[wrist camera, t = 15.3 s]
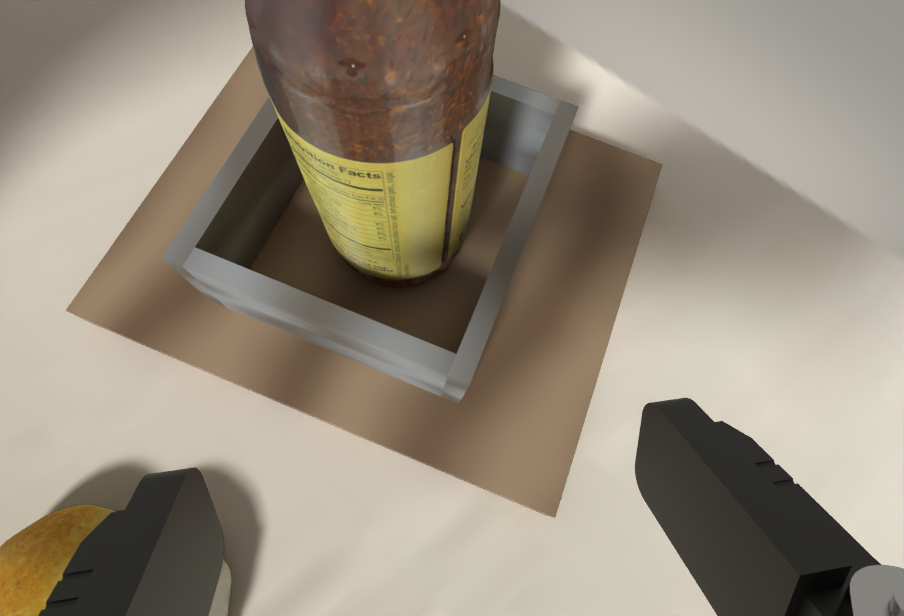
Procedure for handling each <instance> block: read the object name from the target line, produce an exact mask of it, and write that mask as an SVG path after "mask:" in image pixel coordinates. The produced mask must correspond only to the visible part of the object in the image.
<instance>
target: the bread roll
mask: <svg viewBox="0 0 904 616" xmlns="http://www.w3.org/2000/svg"><path fill="white" fill-rule="evenodd" d="M111 512H116V511H113V510H111V509H108V508H103V507H99V506H94V505H75V506H71V507H68V508H64V509H60V510H58V511H56V512H53V513H51V514H49V515H47V516H44V517H43V518H41V519H39V520H38V521H36V522H34V523H33V524H31V525H30V526H28V527H26V528H25V529H23V530H22V531H20V532H19V533H17V534H16V535H14V536H13V537H12V538H10V539H9V540H7V541H6V542H5V543H4V544H3V545H2V546H1V547H0V616H38V615H39V613H40V611H41V610H44V609H45V608H46V601H47V599H48V598H49V596H50V594H51V593H52V591H53V589H54V588H55V586H56V584H57V582H58V581H61V580H62V578H63V575H62V574H63V572H64V570H65V569H66V567H67V565H68V564H69V562H70V560H71V559H72V557H73V555H74V553H75V552H76V550H77V548H78V547H79V545H80V543H81V542H82V541H83V540H84V539H85V538H86V537H87V536H88V535H89V534H90V533H91V532H92V531H93V530H94V529H95V528H96V527H97V526H98V525H99V524H100V523H101V522H102V521H103V520H104V519H105V518H106V517H107V516H108V515H109V514H110V513H111ZM230 593H231V573H230V569H229V566H228V565H227V563H226V562H225V561H224V560H223V565H222V569H221V573H220V577H219V580H218V584H217V587H216V591H215V594H214V598H213V602H212V605H211V609H210V612H209V616H227V615H228V611H229V610H228V606H229V597H230Z"/></svg>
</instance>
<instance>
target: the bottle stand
mask: <svg viewBox="0 0 904 616" xmlns="http://www.w3.org/2000/svg"><path fill="white" fill-rule="evenodd" d="M577 109H578V107H577V106H574V105H572V104H569V103H566V102H564V101H561V100H558V99H556V98H553V97H550V96H548V95H545V94H542V93H540V92H537V91H534V90H532V89H529V88H526V87H523V86H521V85H518V84H515V83H513V82H510V81H507V80H505V79H502V78H499V77H497V76H494V75H493V80H492V87H491V93H490V99H489V105H488V110H487V116H486V122H485V128H484V134H483V140H482V146H481V152H480V158H479V164H478V170H477V176H476V182H475V189H474V195H473V201H472V207H471V214H470V222H469V226H468V229H467V232H466V235H465V237H464V239H463V241H462V243H461V245H460V247H459V251H458V252H457V254H456V256H455V258H454V260H453V261H452V262H451V263H450V265H449V266H448V267H447V268H446V270H444V271H442V272H440V273H439V274H437V275H434V276H433V277H431V278H430V279H427V280H425V281H421V282H419V283H417V284H415V285H407V286H402V287H391V286H387V285H385V284H383V283H379V282H376V281H373V280H371V279H368V278H367V277H365V276H364V275H360V274H359V272H357V271H355V270H354V269H353V268H351V267H350V266H349V265H348V264H347V263H346V262H345V261H344V259H343V257H342V256H341V255H340V254H339V253H338V251H337V250H336V248H335V247H334V245H333V243H332V242H331V240H330V237H329V235H328V233H327V231H326V228H325V226H324V223H323V221H322V218H321V216H320V214H319V212H318V209H317V207H316V205H315V203H314V200H313V198H312V196H311V194H310V192H309V189H308V187H307V185H306V183H305V180H304V178H303V175H302V173H301V170H300V168H299V165H298V163H297V161H296V158H295V156H294V153H293V151H292V148H291V146H290V143H289V141H288V139H287V137H286V134H285V132H284V130H283V127H282V125H281V123H280V120H279V118H278V115H277V113H276V111H275V108H274V106H273V103H272V101H271V99H270V97H269V94H268V92H267V90H266V88H265V85H264V82H263V80H262V77H261V74H260V71H259V68H258V65H257V61H256V57H255V52H254V48H253V47H252V48H251V50H250V51H249V53H248V54H247V56H246V57H245V58H244V60H243V61H242V63H241V64H240V65H239V67H238V68H237V70H236V71H235V72H234V74H233V75H232V77H231V78H230V80H229V81H228V82H227V84H226V85H225V87H224V88H223V89H222V91H221V92H220V94H219V95H218V96H217V98H216V99H215V101H214V102H213V104H212V105H211V106H210V108H209V109H208V111H207V112H206V113H205V115H204V116H203V118H202V119H201V120H200V122H199V123H198V125H197V126H196V127H195V129H194V130H193V132H192V133H191V135H190V136H189V137H188V139H187V140H186V142H185V143H184V144H183V146H182V147H181V149H180V150H179V151H178V153H177V154H176V156H175V157H174V159H173V160H172V161H171V163H170V164H169V166H168V167H167V168H166V170H165V171H164V173H163V174H162V175H161V177H160V178H159V180H158V181H157V183H156V184H155V185H154V187H153V188H152V190H151V191H150V192H149V194H148V195H147V197H146V198H145V199H144V201H143V202H142V204H141V205H140V207H139V208H138V209H137V211H136V212H135V214H134V215H133V216H132V218H131V219H130V221H129V222H128V223H127V225H126V226H125V228H124V229H123V231H122V232H121V233H120V235H119V236H118V238H117V239H116V240H115V242H114V243H113V245H112V246H111V247H110V249H109V250H108V252H107V253H106V255H105V256H104V257H103V259H102V260H101V262H100V263H99V264H98V266H97V267H96V269H95V270H94V271H93V273H92V274H91V276H90V277H89V279H88V280H87V281H86V283H85V284H84V286H83V287H82V288H81V290H80V291H79V293H78V294H77V295H76V297H75V298H74V300H73V301H72V302H71V304H70V305H69V307H68V308H67V310H66V311H68V312H70V313H72V314H74V315H76V316H78V317H80V318H82V319H84V320H86V321H88V322H90V323H93V324H95V325H98V326H100V327H102V328H105V329H107V330H109V331H112V332H114V333H116V334H119V335H121V336H124V337H126V338H128V339H131V340H133V341H135V342H138V343H140V344H142V345H145V346H147V347H150V348H152V349H154V350H157V351H159V352H161V353H164V354H166V355H168V356H171V357H173V358H176V359H178V360H180V361H183V362H185V363H187V364H190V365H192V366H194V367H197V368H199V369H202V370H204V371H206V372H209V373H211V374H213V375H216V376H218V377H220V378H223V379H225V380H228V381H230V382H232V383H235V384H237V385H239V386H242V387H244V388H246V389H249V390H251V391H254V392H256V393H258V394H261V395H263V396H265V397H268V398H270V399H272V400H275V401H277V402H280V403H282V404H284V405H287V406H289V407H291V408H294V409H296V410H298V411H301V412H303V413H306V414H308V415H310V416H313V417H315V418H317V419H320V420H322V421H324V422H327V423H329V424H331V425H334V426H336V427H339V428H341V429H343V430H346V431H348V432H350V433H353V434H355V435H357V436H360V437H362V438H365V439H367V440H369V441H372V442H374V443H376V444H379V445H381V446H383V447H386V448H388V449H391V450H393V451H395V452H398V453H400V454H402V455H405V456H407V457H409V458H412V459H414V460H417V461H419V462H421V463H424V464H426V465H428V466H431V467H433V468H435V469H438V470H440V471H443V472H445V473H447V474H450V475H452V476H454V477H457V478H459V479H461V480H464V481H466V482H469V483H471V484H473V485H476V486H478V487H480V488H483V489H485V490H487V491H490V492H492V493H495V494H497V495H499V496H502V497H504V498H506V499H509V500H511V501H513V502H516V503H518V504H521V505H523V506H525V507H528V508H530V509H532V510H535V511H537V512H539V513H542V514H544V515H547V516H551V517H555V516H556V513H557V510H558V506H559V503H560V500H561V497H562V493H563V490H564V487H565V483H566V480H567V477H568V474H569V470H570V467H571V464H572V460H573V457H574V454H575V450H576V447H577V444H578V441H579V437H580V434H581V431H582V427H583V424H584V421H585V418H586V414H587V411H588V408H589V404H590V401H591V398H592V394H593V391H594V388H595V385H596V381H597V378H598V375H599V371H600V368H601V365H602V361H603V358H604V355H605V352H606V348H607V345H608V342H609V338H610V335H611V332H612V329H613V325H614V322H615V319H616V315H617V312H618V309H619V305H620V302H621V299H622V296H623V292H624V289H625V286H626V282H627V279H628V276H629V273H630V269H631V266H632V263H633V259H634V256H635V253H636V249H637V246H638V243H639V240H640V236H641V233H642V230H643V226H644V223H645V220H646V216H647V213H648V210H649V207H650V203H651V200H652V197H653V193H654V190H655V187H656V184H657V180H658V177H659V174H660V170H661V167H662V164H659V163H657V162H654V161H651V160H649V159H646V158H643V157H641V156H638V155H635V154H633V153H630V152H627V151H625V150H622V149H619V148H617V147H614V146H611V145H609V144H606V143H603V142H601V141H598V140H596V139H593V138H590V137H588V136H585V135H582V134H580V133H577V132H574V131H572V130H570V127H571V125H572V122H573V119H574V117H575V114H576V112H577Z"/></svg>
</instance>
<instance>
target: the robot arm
mask: <svg viewBox="0 0 904 616" xmlns="http://www.w3.org/2000/svg"><path fill="white" fill-rule="evenodd" d="M635 474H636V480H637V484H638V487H639V490H640V492H641V495H642V497H643V499H644V500H645V502H646V503H647V505H648V507H649V508H650V510H651V511H652V513H653V515H654V516H655V518H656V519H657V521H658V522H659V524H660V526H661V527H662V529H663V530H664V532H665V533H666V535H667V537H668V538H669V540H670V541H671V543H672V545H673V546H674V548H675V549H676V551H677V552H678V554H679V556H680V557H681V559H682V560H683V562H684V563H685V565H686V567H687V568H688V570H689V571H690V573H691V574H692V576H693V578H694V579H695V581H696V582H697V584H698V586H699V587H700V589H701V590H702V592H703V593H704V595H705V597H706V598H707V600H708V601H709V603H710V604H711V606H712V608H713V609H714V611H715V612H716V614H717V616H904V569H903V568H899V567H894V566H888V565H881V564H880V563H879V562H878V561H877V560H876V559H874V558H873V557H872V556H871V555H870V554H869V553H868V552H867V551H866V550H865V549H864V548H863V547H862V546H861V545H860V544H859V543H858V542H857V541H856V540H855V539H854V538H853V537H852V536H851V535H850V534H849V533H848V532H847V531H846V530H845V529H844V528H843V527H842V526H841V525H840V524H839V523H838V522H837V521H836V520H835V519H834V518H833V517H832V516H830V515H829V514H828V513H827V512H826V511H825V510H824V509H823V508H822V507H821V506H820V505H819V504H818V503H817V502H816V501H815V500H814V499H813V498H812V497H811V496H810V495H809V494H808V493H807V492H806V491H805V490H804V489H803V488H802V487H801V486H800V485H799V484H795V483H794V482H793V478H792V477H791V476H790V475H789V474H788V473H787V472H786V471H785V470H784V469H783V468H782V467H781V466H780V465H775V463H774V460H773V459H772V458H771V457H770V456H769V455H768V454H767V453H766V452H765V451H764V450H763V449H762V448H761V447H760V446H759V445H758V444H757V443H756V442H755V441H754V440H753V439H752V438H751V437H749V436H747V435H745V434H744V433H742V432H740V431H738V430H737V429H735V428H733V427H732V426H730V425H728V424H726V423H725V422H723V421H719V422H714V421H713V420H712V419H711V418H710V417H709V416H708V415H707V414H706V413H705V412H704V411H703V410H702V409H701V408H700V407H699V406H698V405H697V404H696V403H695V402H694V401H693V400H691V399H689V398H680V399H673V400H666V401H660V402H653V403H648V404H646V405H645V407H644V409H643V412H642V419H641V426H640V433H639V440H638V447H637V454H636V461H635ZM223 558H224V538H223V532H222V528H221V525H220V523H219V520H218V517H217V514H216V512H215V509H214V506H213V504H212V501H211V498H210V495H209V493H208V490H207V487H206V484H205V482H204V479H203V476H202V474H201V472H200V471H199V470H198V469H197V468H188V469H181V470H174V471H168V472H161V473H154V474H148V475H146V476H145V477H144V478H143V479H142V480H141V481H140V483H139V485H138V487H137V489H136V490H135V492H134V494H133V496H132V498H131V500H130V502H129V504H128V505H127V507H126V509H125V510H123V511H117V512H111V513H110V514H109V515H108V516H107V517H106V518H105V519H104V520H103V521H102V522H101V523H100V524H99V525H98V526H97V527H96V528H95V529H94V530H93V531H92V532H91V533H90V534H89V535H88V536H87V537H86V538H85V539H84V540H83V541H82V542H81V543H80V545H79V547H78V548H77V550H76V552H75V553H74V555H73V557H72V559H71V560H70V562H69V564H68V565H67V567H66V569H65V570H64V572H63V574H62V575H63V578H62V580H61V581H58V582H57V584H56V586H55V588H54V589H53V591H52V593H51V594H50V596H49V598H48V599H47V601H46V608H45V609H44V610H41V611H40V613H39V615H38V616H209V612H210V609H211V605H212V602H213V598H214V594H215V591H216V587H217V584H218V580H219V577H220V573H221V569H222V565H223Z"/></svg>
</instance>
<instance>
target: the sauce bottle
mask: <svg viewBox="0 0 904 616" xmlns="http://www.w3.org/2000/svg"><path fill="white" fill-rule="evenodd" d="M245 8H246V16H247V21H248V25H249V30H250V34H251V39H252V43H253V48H254V52H255V57H256V61H257V65H258V68H259V71H260V74H261V77H262V80H263V82H264V85H265V88H266V90H267V92H268V94H269V97H270V99H271V101H272V103H273V106H274V108H275V111H276V113H277V115H278V118H279V120H280V123H281V125H282V127H283V130H284V132H285V134H286V137H287V139H288V141H289V143H290V146H291V148H292V151H293V153H294V156H295V158H296V161H297V163H298V165H299V168H300V170H301V173H302V175H303V178H304V180H305V183H306V185H307V187H308V189H309V192H310V194H311V196H312V198H313V200H314V203H315V205H316V207H317V209H318V212H319V214H320V216H321V218H322V221H323V223H324V226H325V228H326V231H327V233H328V235H329V237H330V240H331V242H332V243H333V245H334V247H335V248H336V250H337V251H338V253H339V254H340V255H341V256H342V257H343V259H344V261H345V262H346V263H347V264H348V265H349V266H350V267H351V268H353V269H354V270H355V271H357V272H359V274H360V275H364V276H365V277H367V278H368V279H371V280H373V281H376V282H379V283H383V284H385V285H387V286H391V287H402V286H407V285H415V284H417V283H419V282H421V281H425V280H427V279H430V278H431V277H433V276H434V275H437V274H439V273H440V272H442V271H444V270H446V268H447V267H448V266H449V265H450V263H451V262H452V261H453V260H454V258H455V256H456V254H457V252H458V251H459V247H460V245H461V243H462V241H463V239H464V237H465V235H466V232H467V229H468V226H469V222H470V214H471V207H472V201H473V195H474V189H475V182H476V176H477V170H478V164H479V158H480V152H481V146H482V140H483V134H484V128H485V122H486V116H487V110H488V105H489V99H490V93H491V87H492V80H493V56H492V55H493V51H494V44H495V36H496V31H497V25H498V20H499V15H500V0H245Z"/></svg>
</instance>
